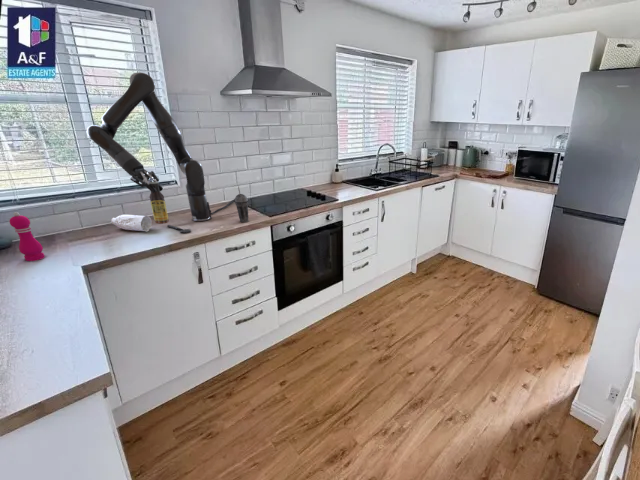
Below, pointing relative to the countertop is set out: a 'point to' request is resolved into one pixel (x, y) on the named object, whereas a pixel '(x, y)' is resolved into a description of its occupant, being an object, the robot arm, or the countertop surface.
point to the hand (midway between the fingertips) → (158, 190)
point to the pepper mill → (26, 238)
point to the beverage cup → (242, 207)
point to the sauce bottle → (158, 205)
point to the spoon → (180, 229)
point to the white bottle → (133, 222)
